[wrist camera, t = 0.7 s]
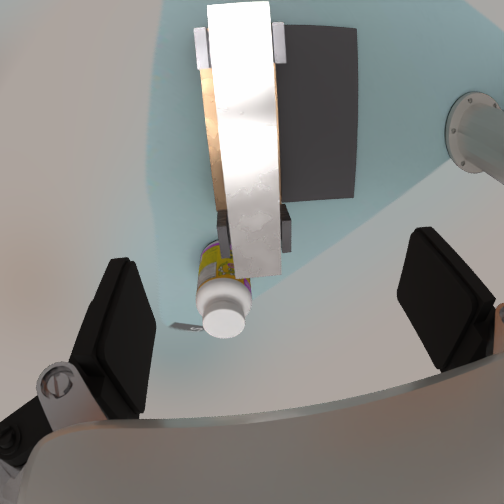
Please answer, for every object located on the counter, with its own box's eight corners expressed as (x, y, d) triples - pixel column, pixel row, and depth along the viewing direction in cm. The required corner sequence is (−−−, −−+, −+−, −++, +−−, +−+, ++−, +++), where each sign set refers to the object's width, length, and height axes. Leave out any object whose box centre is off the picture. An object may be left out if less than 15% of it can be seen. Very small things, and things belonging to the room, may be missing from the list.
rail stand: (270, 25, 28) (295, 4, 17) (279, 200, 41) (300, 263, 29) (197, 31, 28) (179, 13, 17) (217, 206, 40) (213, 272, 29)
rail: (263, 9, 19) (268, 1, 16) (276, 252, 31) (281, 274, 28) (209, 13, 19) (206, 5, 16) (234, 256, 31) (235, 279, 28)
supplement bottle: (257, 260, 46) (266, 327, 35) (221, 283, 47) (221, 351, 37) (227, 228, 42) (227, 292, 32) (190, 255, 44) (181, 322, 34)
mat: (354, 29, 28) (356, 28, 28) (352, 195, 41) (353, 197, 40) (272, 25, 28) (273, 24, 28) (281, 200, 41) (281, 202, 40)
